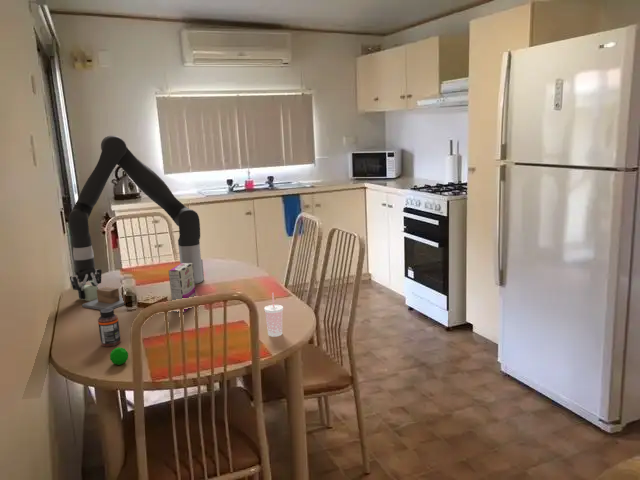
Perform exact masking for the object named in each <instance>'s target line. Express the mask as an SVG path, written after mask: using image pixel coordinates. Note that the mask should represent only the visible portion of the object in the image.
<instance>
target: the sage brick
mask: <svg viewBox="0 0 640 480" xmlns="http://www.w3.org/2000/svg"><path fill="white" fill-rule="evenodd" d="M98 289H99V286H92V285H91V284H86V285H85V286H84V294H85V299H80V298H79V297H78V299H79V300H81V301H87V302H90V301H93V300H96V299H98V297H97V290H98ZM77 294H78V296H79V293H78V292H77Z"/></svg>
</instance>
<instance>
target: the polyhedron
mask: <svg viewBox="0 0 640 480" xmlns="http://www.w3.org/2000/svg"><path fill="white" fill-rule="evenodd" d="M109 358H110V359H109V360H110V361H111V362H112V364H114V365H117V366H121V365H124V364H125V363H126V362H127V361H128V358H129V353H128V350H127V349H126V348H124V347H115V348H114V349H112V350H111V352H110V354H109Z"/></svg>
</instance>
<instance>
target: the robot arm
mask: <svg viewBox="0 0 640 480" xmlns="http://www.w3.org/2000/svg"><path fill="white" fill-rule="evenodd" d="M100 149H101V153H100V156H99V159H98V161H97V163H96V165H95V167H94V169H93V171H92V172H91V173H90V175H89V177H88V178H87V180H86V181H85V183H84V185H83V187H82V189H81V191H80V193H79V196H78V199H77V201H76V202H75V204H74V206H73V207H72V210H71V211H70V213H69V215H68V223H69V227H70V228H69V229H70V233H71V241H72V242H71V243H72V252H73V253H72V254H73V262H74V263H73V264H74V269H75V272H76V273H75V274H74V275H73V276H72V275H71V276H69V281H70V283H71V287H72V290H73V291H77V294H78V293H79V295H78V299H79V298H80V299H79V300H82V299H85V294H84V286H85V285H87V282H89V283H90V285H91V286H97V287H99V286H98V285H99V284H102V274H103V273H102V269H99V268H95V267H96V263H95V256H94V255H95V254H94V249H93V245H92V238H91V233H90V229H89V227H90V226H89V218H90V216H91V214H92V212H93V209H94V207H95V205H97V203H98V201H99V199H100V197H101V195H102V192H103V191H104V188H105V186H106V185H107V182H108V180H109V178H110V176H111V174H112V172H113V171H114V169H115V168H116V166H118V167H120V168H121V169H122V170H123V172H125V173H126V174H127V176H128V177H129V179H131V181H132V182H133V183H134V184H135V186H137V187H138V189H139V190H141V192H143V193H144V194H145V196H147V197H148V198H149V199H150V200H151V201H153V202H154V203H155V204H156V205H158V206H159V207H160V208H161V209H163V211H164V212H165V213H166V214H167V215H168V217H170V218H171V220H172V221H173V222H174V223H175V225H176V226H177V227H178V231H179V232H178V233H179V236H178V239H177V244H178V254H179V264H181V263H193V273H194V283H195V285H196V284H200V283H202V282H203V281H204V280H205V274H204V261H203V259H202V254H201V246H200V245H201V244H200V242H201V241H200V240H201V223H200V217H199V214H198V212H197V211H195V210H193V209H190V208H189V207H187V206H186V205H184V204H183V203H182V202H181V201H180V200H178V199H177V198H176V197H175V195H174V193H172V190H170V189H171V188H169V187H168V185H167V184H166V182H165V181H164V180H163V179H162V178H161V177H160V176H159V175H158V173H156V172H155V171H154V170H152V168H150V167H149V166H147V165H146V164H145V163H143V162H142V161H141V160H140V159H138V158H137V157H136V156H135V155H134V154H133V153H132V151H131V150H130V149H129V148H128V147H127V144H126V142H125V141H124V139H122V138H121V137H120V136H117V135H108V136H105V137H104V138H103V139H102V141H101V144H100Z"/></svg>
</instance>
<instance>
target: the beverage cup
mask: <svg viewBox="0 0 640 480" xmlns="http://www.w3.org/2000/svg"><path fill="white" fill-rule="evenodd" d="M274 294H275V293H274V292H272V293H271V297H272V304H270V305H266V306H264V309H263V310H264V312H265V319H266V326H267V327H266V328H267V335H268V336H269V337H272V338H274V337H280V336H282V335H283V311H284V306H283V305H280V304H275V297H274V296H275V295H274Z"/></svg>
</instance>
